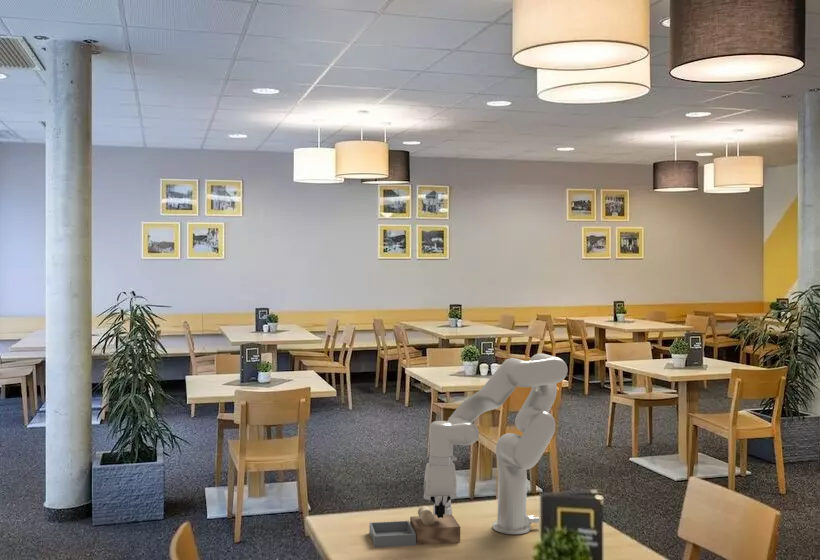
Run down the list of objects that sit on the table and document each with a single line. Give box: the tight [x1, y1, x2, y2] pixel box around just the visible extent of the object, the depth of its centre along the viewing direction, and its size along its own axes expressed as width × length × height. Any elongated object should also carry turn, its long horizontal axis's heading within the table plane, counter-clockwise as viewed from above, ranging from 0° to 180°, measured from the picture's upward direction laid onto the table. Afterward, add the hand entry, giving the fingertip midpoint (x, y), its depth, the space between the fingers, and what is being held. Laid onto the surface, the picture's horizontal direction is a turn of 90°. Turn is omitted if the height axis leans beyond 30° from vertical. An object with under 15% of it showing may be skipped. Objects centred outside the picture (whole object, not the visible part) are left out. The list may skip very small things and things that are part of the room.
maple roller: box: [417, 505, 435, 526], centre depth 263 cm, size 4×8×4 cm
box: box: [369, 520, 417, 549], centre depth 261 cm, size 13×13×4 cm
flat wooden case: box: [409, 514, 461, 546], centre depth 264 cm, size 14×12×5 cm
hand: (439, 516), depth 264 cm, fingers closed
